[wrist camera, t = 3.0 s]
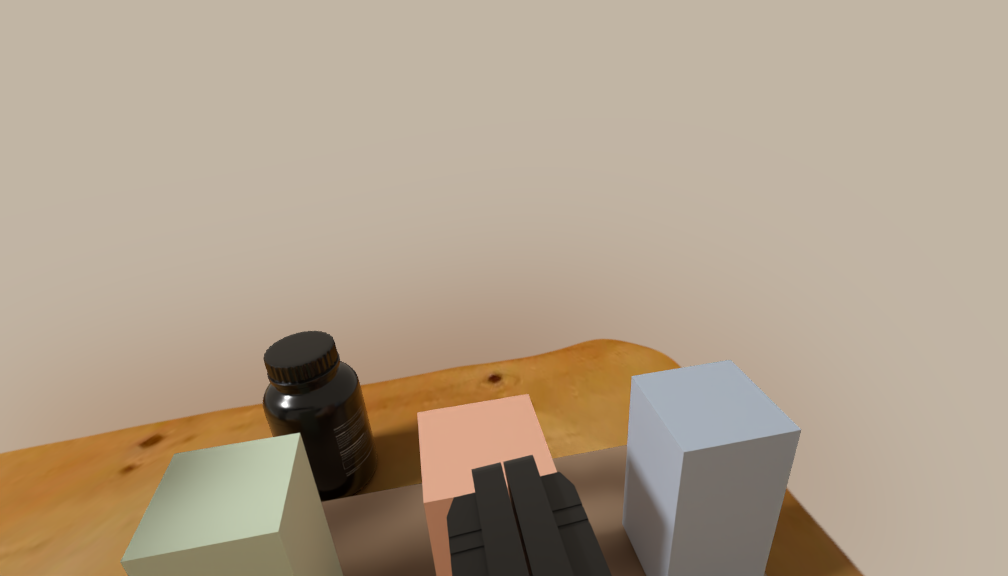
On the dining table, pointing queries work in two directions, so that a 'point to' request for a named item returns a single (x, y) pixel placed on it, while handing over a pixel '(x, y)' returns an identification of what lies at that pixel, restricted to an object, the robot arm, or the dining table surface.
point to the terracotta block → (472, 455)
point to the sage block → (236, 515)
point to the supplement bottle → (321, 411)
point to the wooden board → (405, 537)
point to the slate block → (704, 471)
